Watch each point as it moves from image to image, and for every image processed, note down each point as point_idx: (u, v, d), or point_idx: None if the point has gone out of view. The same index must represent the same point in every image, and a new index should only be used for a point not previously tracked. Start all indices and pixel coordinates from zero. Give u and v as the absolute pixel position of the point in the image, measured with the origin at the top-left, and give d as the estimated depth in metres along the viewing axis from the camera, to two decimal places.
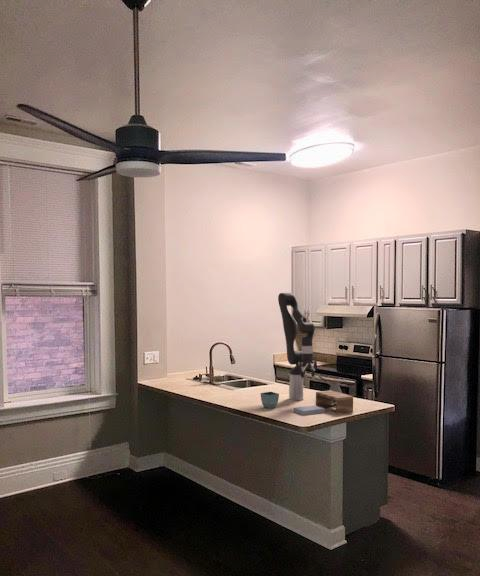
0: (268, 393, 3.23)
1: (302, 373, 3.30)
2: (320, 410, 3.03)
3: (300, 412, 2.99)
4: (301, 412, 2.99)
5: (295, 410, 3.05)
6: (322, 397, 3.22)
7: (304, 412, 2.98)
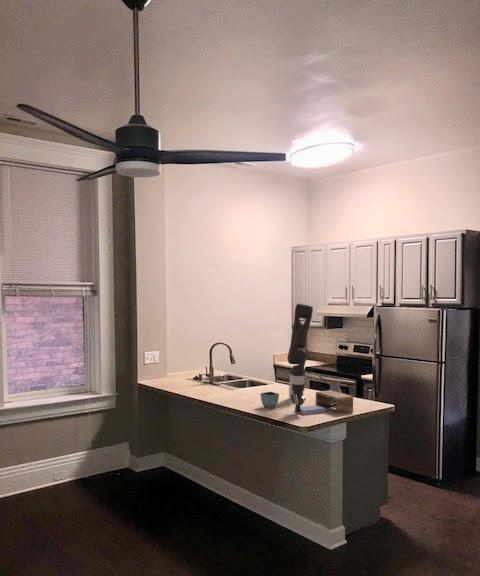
0: (268, 393, 3.23)
1: (299, 407, 3.02)
2: (321, 410, 3.04)
3: (301, 412, 3.00)
4: (302, 412, 3.00)
5: None
6: (322, 397, 3.22)
7: (305, 412, 2.99)
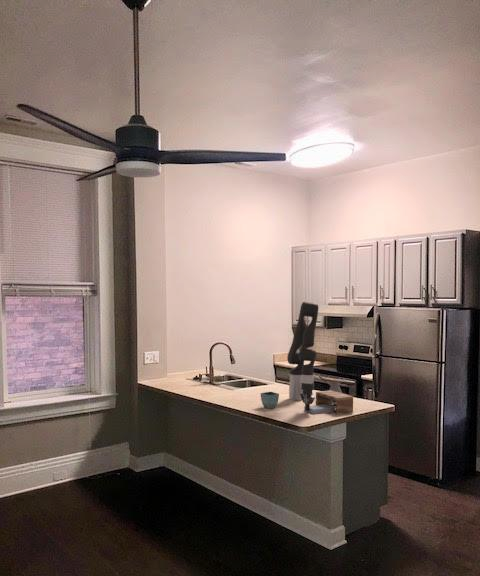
0: (268, 393, 3.23)
1: None
2: (330, 409, 3.07)
3: (311, 411, 3.03)
4: (312, 411, 3.02)
5: None
6: (322, 397, 3.22)
7: (315, 411, 3.01)
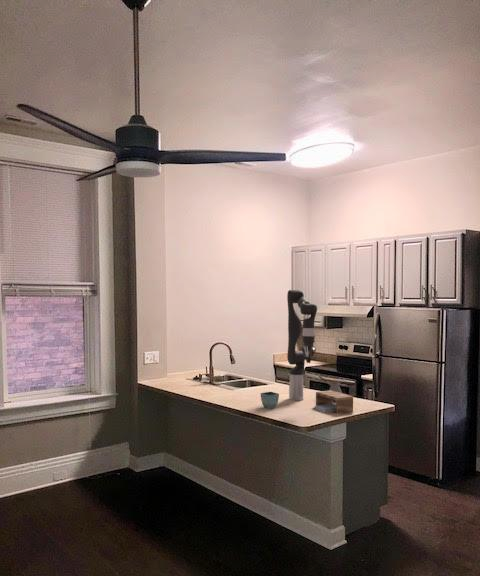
0: (268, 393, 3.23)
1: None
2: None
3: (322, 410, 3.06)
4: (323, 410, 3.05)
5: (316, 408, 3.11)
6: (322, 397, 3.22)
7: (326, 410, 3.04)
